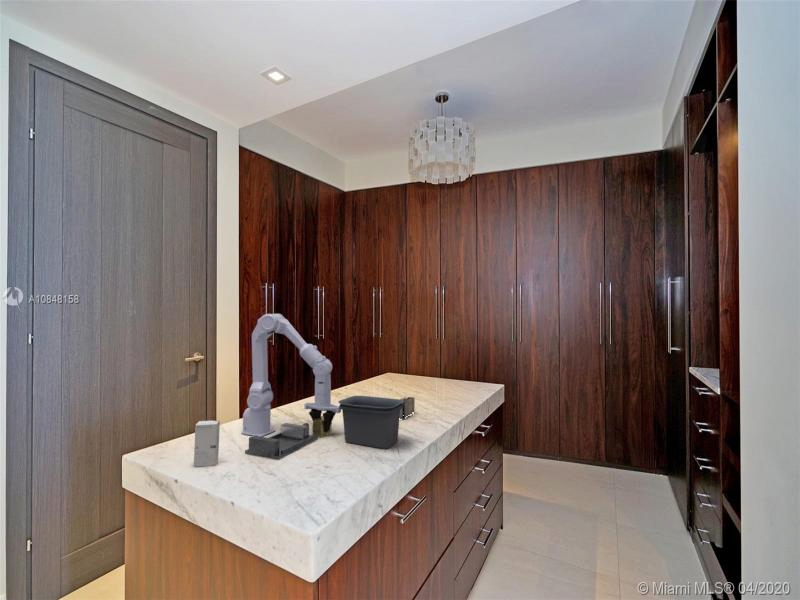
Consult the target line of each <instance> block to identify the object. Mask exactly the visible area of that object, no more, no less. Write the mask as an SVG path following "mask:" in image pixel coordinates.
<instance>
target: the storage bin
mask: <svg viewBox="0 0 800 600" xmlns="http://www.w3.org/2000/svg"><path fill="white" fill-rule="evenodd" d="M403 402H404V401H403V400H400V399H396V398H390V397H389V398H388V397H387V398H386V397H379V396H370V395H369V396H367V395H353V396H349V397H346V398H343V399H341V400H338V402H337V403H338V404H339V408H340V409H341V412H342V418H343V420H342V421H343V422H342V423H343V431H344V432H343V433H344V441H345V443H348V444H352V443H353V444H354V445H360V446H365V445H366V446H365V447H372V448H378V449H379V448H380V449H384V448H386V449H388V448H390V447H392V446H394V445H395V444H396V443H397V442H398V441H399V429H400V420H399V417H400V409H402V408H403V404H402V403H403ZM394 443H395V444H394Z"/></svg>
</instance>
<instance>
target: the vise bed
mask: <svg viewBox="0 0 800 600" xmlns="http://www.w3.org/2000/svg"><path fill="white" fill-rule="evenodd" d="M318 439H319V438H318V433H315V434H313V433H312V434H311V435H310V434H309V437H307V438H305V439H303V440H301V439H295V438H289V437H283V436H281V431H280V432H278V433H276V434H274V435H271V436H269V437H266V436H262V437H260V436H253V435H251V436H250V437H248V449H245V450H244V454H245V455H250V456H255V457H260V458H265V459H271V460H276V461H279V460H281V459H283V458H285V457H287V456H288V455H291V454H293V453H294V452H296V451H298V450H300V449H302V448H304V447H306V446H308V445H310V444H312V443H313V442H316V441H317V440H318Z"/></svg>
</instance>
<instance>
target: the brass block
mask: <svg viewBox="0 0 800 600" xmlns="http://www.w3.org/2000/svg"><path fill="white" fill-rule="evenodd" d="M332 424H333V423H331V426H330V431H328V432H325V423H324V417H323V415H321V417H319V418H316V419H314V420H312V435H313V434H315V433H318V439H322V438H324V437H326V436H328V435H329V433H330V434H332V433H333V432H332V431H333V429H332V426H333V425H332ZM331 432H332V433H331ZM327 434H328V435H327ZM325 435H326V436H325Z"/></svg>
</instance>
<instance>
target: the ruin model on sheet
mask: <svg viewBox="0 0 800 600" xmlns="http://www.w3.org/2000/svg"><path fill="white" fill-rule="evenodd" d="M415 399H416V398H415V397H412V396H408V397H407V396H404V397H402V398H400V399H399V400H403V401H404V402H403V403H402V404H403V408H402V409H400V417H399V418H400V419H403V420H404V418H405V417H406V416H408V415H410V414H412V412H414V413H415V407H416V406H415ZM403 415H404V417H403Z"/></svg>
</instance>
